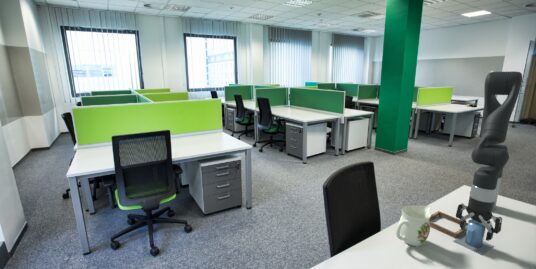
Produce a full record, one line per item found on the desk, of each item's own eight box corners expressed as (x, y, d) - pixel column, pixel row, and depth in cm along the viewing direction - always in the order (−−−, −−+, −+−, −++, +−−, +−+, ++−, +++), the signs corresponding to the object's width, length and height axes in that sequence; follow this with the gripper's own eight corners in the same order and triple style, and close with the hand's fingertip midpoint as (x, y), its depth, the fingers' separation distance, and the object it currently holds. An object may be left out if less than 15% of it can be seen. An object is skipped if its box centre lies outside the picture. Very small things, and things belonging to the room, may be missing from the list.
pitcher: (383, 240, 110) (387, 210, 107) (413, 229, 117) (416, 200, 114) (407, 256, 100) (411, 223, 97) (437, 243, 108) (442, 212, 105)
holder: (438, 214, 130) (438, 211, 129) (471, 228, 118) (472, 224, 117) (421, 222, 122) (422, 219, 122) (455, 238, 111) (456, 234, 110)
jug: (468, 237, 111) (472, 218, 109) (484, 244, 106) (488, 224, 104) (459, 244, 107) (462, 223, 105) (475, 251, 102) (479, 230, 100)
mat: (465, 233, 114) (465, 233, 114) (493, 246, 106) (493, 245, 105) (453, 241, 109) (453, 240, 109) (482, 255, 101) (482, 254, 100)
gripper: (509, 201, 99) (501, 240, 102) (465, 188, 110) (459, 223, 114) (500, 207, 95) (492, 247, 98) (456, 192, 107) (450, 228, 110)
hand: (474, 234), depth 106 cm, fingers open, 8 cm apart
